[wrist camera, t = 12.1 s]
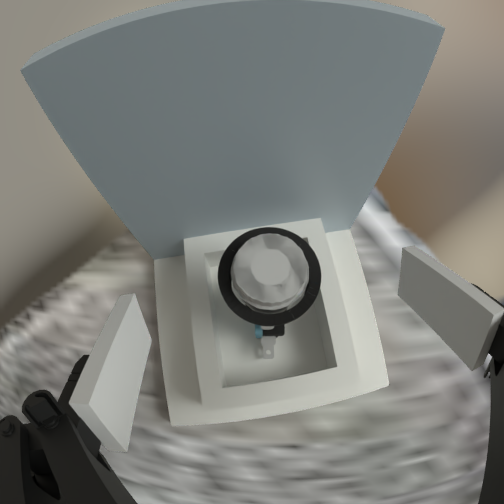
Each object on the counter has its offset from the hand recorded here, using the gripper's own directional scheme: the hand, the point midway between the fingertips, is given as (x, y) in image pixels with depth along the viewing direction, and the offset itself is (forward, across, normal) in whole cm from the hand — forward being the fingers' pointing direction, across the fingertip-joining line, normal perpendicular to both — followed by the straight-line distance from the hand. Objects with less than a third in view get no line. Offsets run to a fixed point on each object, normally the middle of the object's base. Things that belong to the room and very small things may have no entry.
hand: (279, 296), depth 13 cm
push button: (+8, 0, -7) cm, 10 cm away
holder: (+9, 0, -8) cm, 12 cm away
